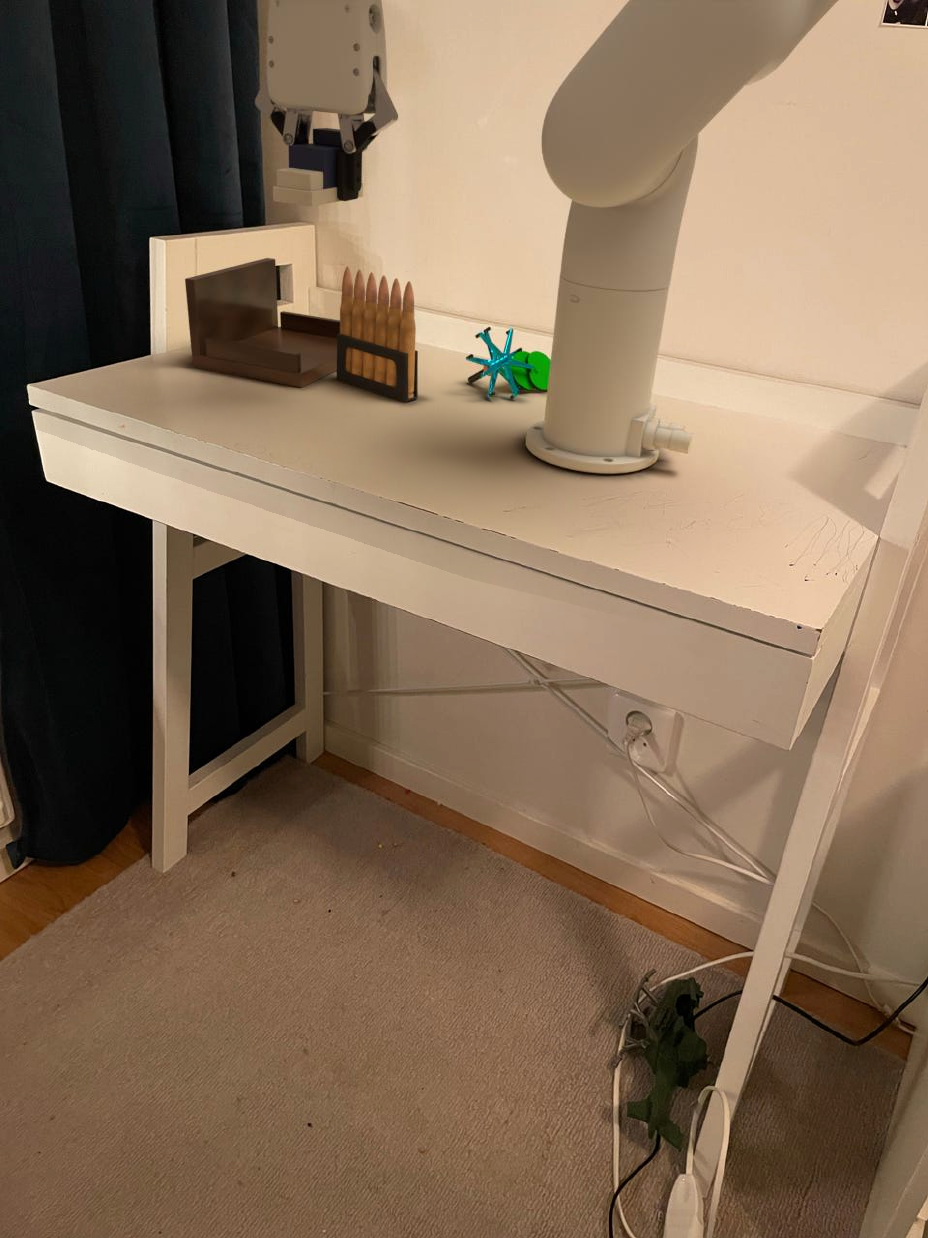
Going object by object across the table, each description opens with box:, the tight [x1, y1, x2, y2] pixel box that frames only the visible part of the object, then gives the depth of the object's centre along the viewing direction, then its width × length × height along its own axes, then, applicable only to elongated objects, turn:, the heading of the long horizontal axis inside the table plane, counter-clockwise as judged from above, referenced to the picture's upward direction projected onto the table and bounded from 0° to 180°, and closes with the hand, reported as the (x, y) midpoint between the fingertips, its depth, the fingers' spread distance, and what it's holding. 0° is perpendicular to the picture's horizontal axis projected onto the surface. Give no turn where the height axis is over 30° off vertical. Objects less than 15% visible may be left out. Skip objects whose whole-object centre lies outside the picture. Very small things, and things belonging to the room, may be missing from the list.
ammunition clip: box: [335, 266, 419, 403], centre depth 98 cm, size 11×2×12 cm, turn 50°
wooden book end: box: [184, 257, 340, 388], centre depth 106 cm, size 16×14×10 cm
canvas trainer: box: [272, 127, 364, 207], centre depth 85 cm, size 10×4×6 cm, turn 159°
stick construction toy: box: [465, 326, 551, 400], centre depth 104 cm, size 12×7×8 cm
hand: (325, 193), depth 87 cm, fingers closed on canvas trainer, 4 cm apart
